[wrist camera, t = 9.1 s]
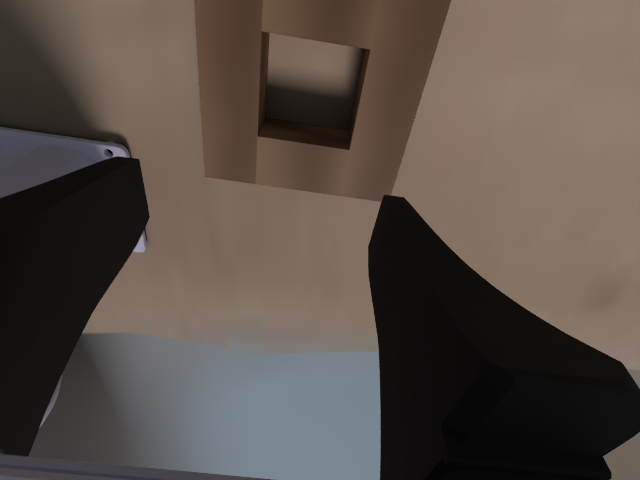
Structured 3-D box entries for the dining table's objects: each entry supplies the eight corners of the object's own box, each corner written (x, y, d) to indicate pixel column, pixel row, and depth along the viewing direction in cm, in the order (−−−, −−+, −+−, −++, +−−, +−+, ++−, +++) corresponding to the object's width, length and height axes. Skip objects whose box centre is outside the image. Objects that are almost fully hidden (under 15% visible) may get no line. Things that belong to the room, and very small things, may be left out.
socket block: (216, 156, 22) (204, 176, 20) (209, -63, 15) (190, -65, 13) (383, 180, 22) (388, 202, 20) (441, -21, 16) (455, -16, 14)
